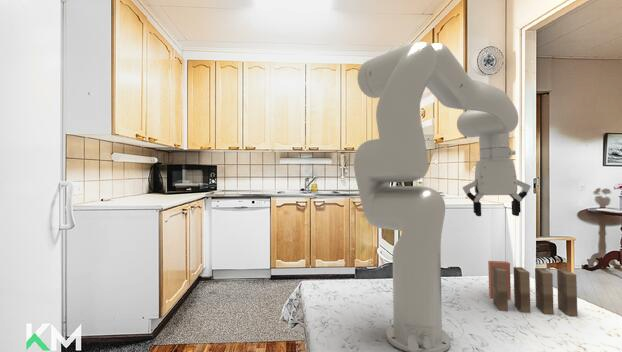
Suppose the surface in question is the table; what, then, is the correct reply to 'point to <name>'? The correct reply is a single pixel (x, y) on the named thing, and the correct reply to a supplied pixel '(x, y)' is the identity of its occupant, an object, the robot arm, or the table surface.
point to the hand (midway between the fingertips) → (496, 215)
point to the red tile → (490, 268)
